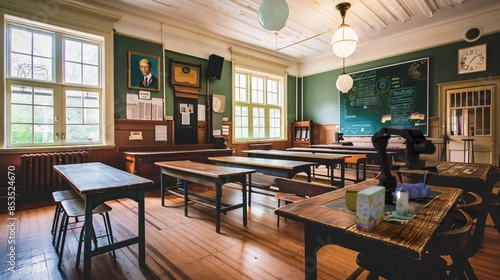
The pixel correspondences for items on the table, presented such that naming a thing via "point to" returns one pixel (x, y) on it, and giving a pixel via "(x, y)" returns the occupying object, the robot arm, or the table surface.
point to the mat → (402, 216)
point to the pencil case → (414, 190)
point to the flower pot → (351, 199)
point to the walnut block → (415, 208)
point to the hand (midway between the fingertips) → (413, 186)
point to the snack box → (370, 208)
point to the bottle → (402, 202)
